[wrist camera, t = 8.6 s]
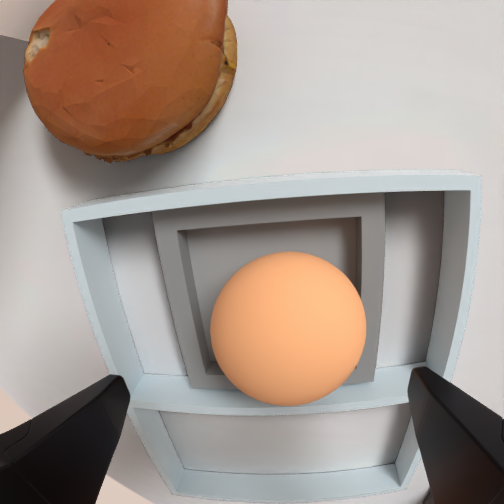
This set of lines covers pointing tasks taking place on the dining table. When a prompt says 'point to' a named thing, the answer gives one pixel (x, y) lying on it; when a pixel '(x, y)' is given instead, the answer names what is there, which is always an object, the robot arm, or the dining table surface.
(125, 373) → the two compartment tray
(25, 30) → the slotted house block
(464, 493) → the robot arm
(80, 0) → the burger
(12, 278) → the dining table surface
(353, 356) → the ball
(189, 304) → the square tray
